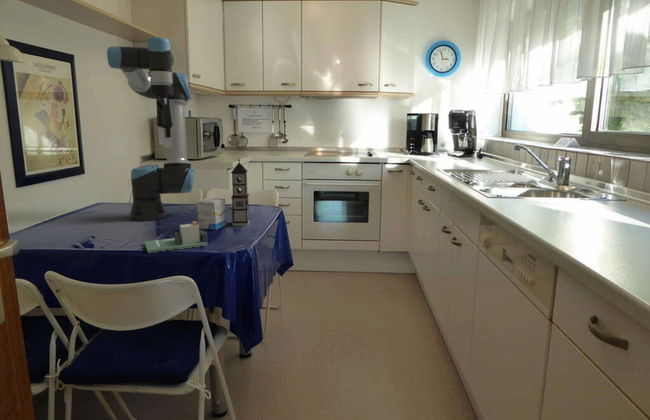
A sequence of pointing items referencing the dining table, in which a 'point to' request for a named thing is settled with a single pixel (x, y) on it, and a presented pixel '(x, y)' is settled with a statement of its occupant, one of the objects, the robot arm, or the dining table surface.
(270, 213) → the dining table surface
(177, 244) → the board
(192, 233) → the plug
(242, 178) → the miniature building
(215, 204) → the ink box
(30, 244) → the dining table surface
